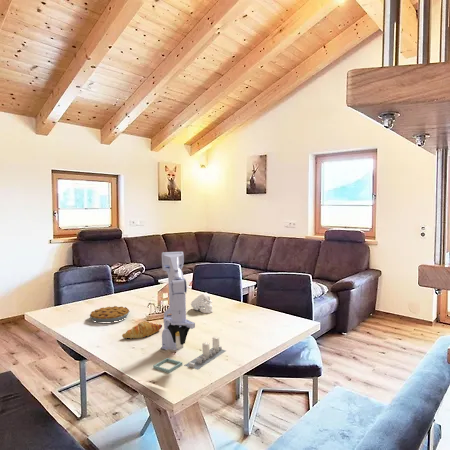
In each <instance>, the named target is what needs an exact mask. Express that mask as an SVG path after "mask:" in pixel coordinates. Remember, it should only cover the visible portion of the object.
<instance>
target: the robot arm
mask: <svg viewBox="0 0 450 450" xmlns="http://www.w3.org/2000/svg"><path fill="white" fill-rule="evenodd" d="M184 255H185V254H184V251H181V250H180V251H165V252H164V251H162V252H161V268H162V271H164V272H166V273H167V278H168V281H167V282H168V283H167V284H168V301H169V305H168V307H167V309H166V310H165V311H164V312H163V330H162V332H161V347H160V349H162V350H165V351H168V350H171V351H172V350H173V351H176V350H179V349H177V348H176V335H175V333H176V332H179V334H180V344H181V345H183V346H184V344H186V340H187V338H188V337H187V335H188V334H189V331H190V329H191V330H192V329H195V328H196V322H193V321H190V320H188V319H187V305H186V302H187V301H186V298H187V297H186V294H187V291H188V285H187V279H186V278H185V276H184V273H183V268H184V263H185V256H184Z"/></svg>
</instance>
